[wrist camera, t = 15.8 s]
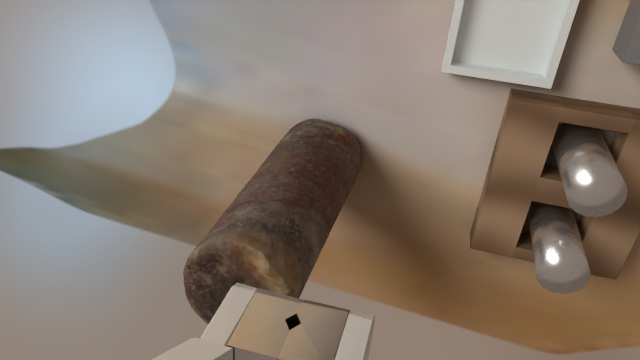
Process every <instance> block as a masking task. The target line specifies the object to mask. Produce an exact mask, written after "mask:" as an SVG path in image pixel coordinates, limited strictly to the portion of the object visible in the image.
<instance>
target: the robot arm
mask: <svg viewBox="0 0 640 360" xmlns="http://www.w3.org/2000/svg"><path fill="white" fill-rule="evenodd" d="M374 322H375V316H374V315H369V314H365V313H360V312H356V311H352V310H351V311H350V310H347V309H343V308H338V307H334V306H330V305H326V304H321V303H316V302H312V301H308V300H302V299H298V298H295V297H291V296H287V295H283V294H280V293H276V292H272V291H268V290H265V289H261V288H255V287H251V286H248V285H244V284H240V283H236V284H235V285H234V286H232V287H231V289H230V290H229V292H228V293H227V295H226V297H225V298H224V300H223V302H222V303H221V305H220V307H219V308H218V310H217V311H216V313H215V315H214V316H213V318H212V320H211V321H210V323H209V325H208V326H207V328H206V329H205V331H204V333H203V334H202V336H201V338H200V339H198V338H194V337H193V338H191V339H189V340H187V341H185V342H184V343H182V344H180V345H178V346H176V347H174V348H173V349H171V350H169V351H167V352H165V353H163V354H161V355H160V356H158V357H156V358H154V359H153V360H368V357H369V352H370V345H371V340H372V334H373V328H374Z"/></svg>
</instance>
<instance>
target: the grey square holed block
mask: <svg viewBox="0 0 640 360" xmlns="http://www.w3.org/2000/svg"><path fill="white" fill-rule="evenodd" d="M612 50H613V51H614V52H615V54H616V55H617V56H618V58H619V59H620V60H621V61H622V62H625V63H632V64H639V65H640V0H631V1H630V4H629V7H628V9H627V12H626V15H625V17H624V20H623V23H622V25H621V28H620V31H619V33H618V36H617V39H616V41H615V44H614V47H613V49H612Z"/></svg>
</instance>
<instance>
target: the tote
mask: <svg viewBox="0 0 640 360" xmlns="http://www.w3.org/2000/svg"><path fill="white" fill-rule="evenodd" d="M579 1H580V0H455V5H454V10H453V15H452V20H451V25H450V30H449V35H448V40H447V45H446V49H445V54H444V59H443V64H442V69H441V72H445V73H452V74H458V75H464V76H471V77H477V78H484V79H490V80H497V81H503V82H510V83H516V84H522V85H529V86H535V87H542V88H548V89H551V87H552V84H553V81H554V78H555V75H556V72H557V69H558V66H559V62H560V59H561V56H562V53H563V50H564V47H565V44H566V41H567V38H568V35H569V32H570V29H571V25H572V22H573V19H574V16H575V13H576V10H577V7H578V4H579Z"/></svg>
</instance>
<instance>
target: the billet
mask: <svg viewBox="0 0 640 360" xmlns="http://www.w3.org/2000/svg"><path fill="white" fill-rule="evenodd" d="M553 150H554V154H555V158H556V161H557V165H558V169H559V172H560V176H561V180H562V183H563V187H564V191H565V194H566V198H567V201H568V204H569V206H570V207H571V208H572V209H573V210H574V211H575V212H577V213H579V214H581V215H583V216H588V217H601V216H606V215H609V214H611V213H613V212H615V211H616V210H618V209H619V208H620V207H621V206H622V205H623V203H624V202H625V200H626V197H627V186H626V184H625V182H624V180H623V177H622V175H621V173H620V171H619V169H618V167H617V165H616V163H615V161H614V159H613V157H612V154H611V152H610V150H609V148H608V146H607V144H606V142H605V140H604V138H603V136H602V134H601V132H600V130H599V129H598V128H593V127H587V126H581V125H575V124H567V125H565V126H564V127H562V128H561V129H560V130H559V131H558V132H557V133H556V135H555V136H554V139H553Z"/></svg>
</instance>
